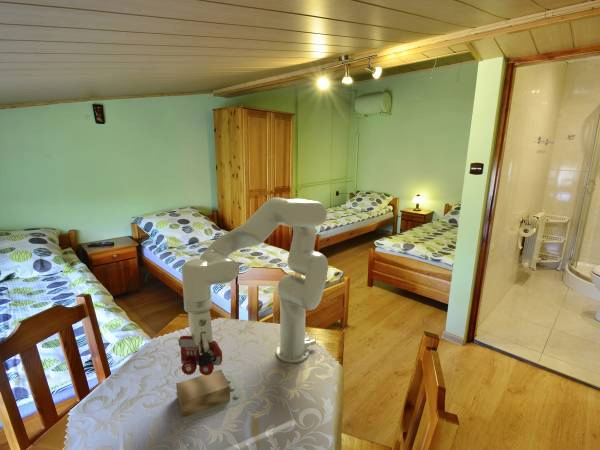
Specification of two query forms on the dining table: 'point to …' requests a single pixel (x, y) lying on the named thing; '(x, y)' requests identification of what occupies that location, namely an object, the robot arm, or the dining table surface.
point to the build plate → (234, 400)
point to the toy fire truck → (191, 356)
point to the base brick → (202, 393)
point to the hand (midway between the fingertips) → (200, 356)
